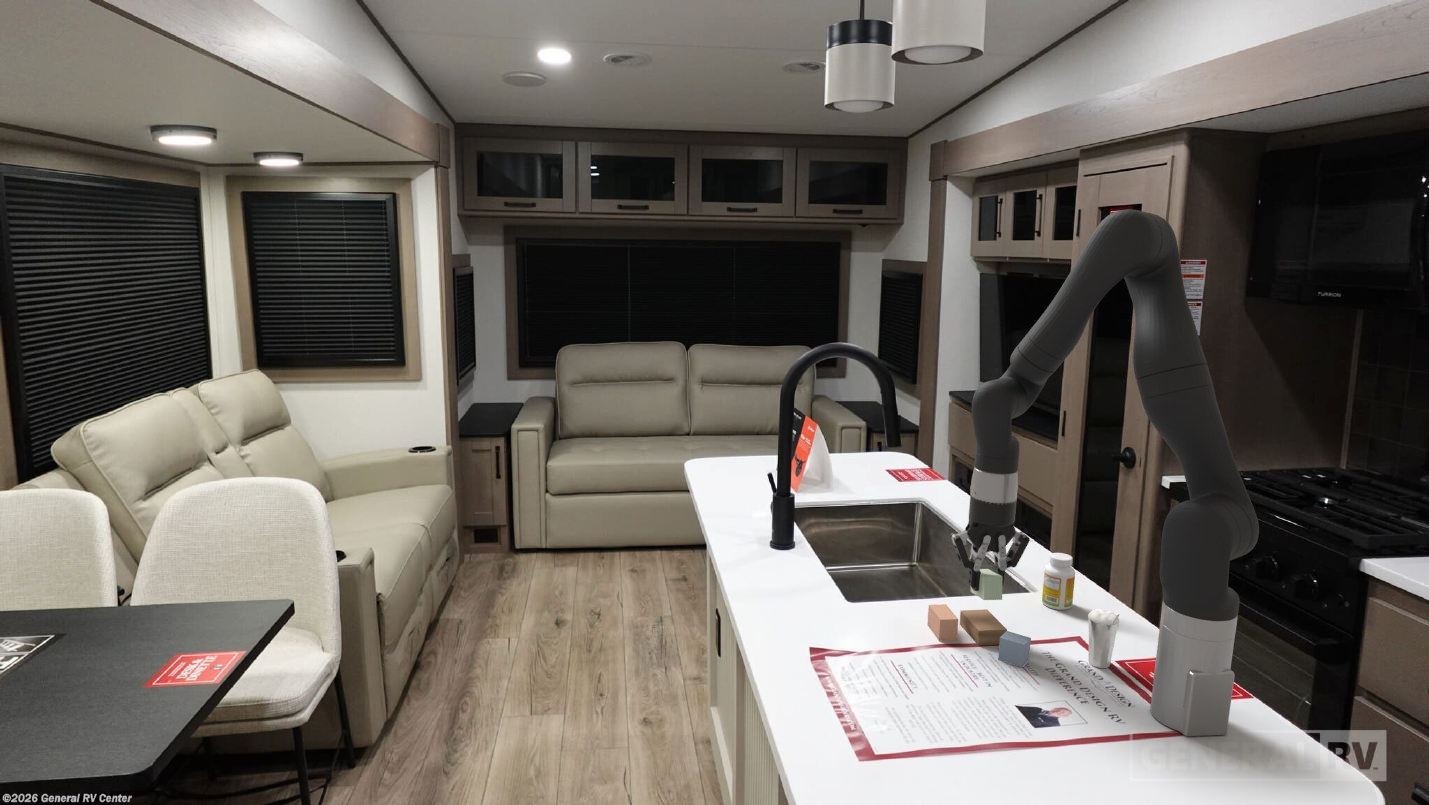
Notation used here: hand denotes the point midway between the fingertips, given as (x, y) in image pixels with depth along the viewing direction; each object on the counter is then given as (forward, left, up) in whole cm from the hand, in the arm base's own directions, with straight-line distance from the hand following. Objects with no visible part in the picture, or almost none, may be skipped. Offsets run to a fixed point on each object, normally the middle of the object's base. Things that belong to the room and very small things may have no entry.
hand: (985, 588), depth 147 cm
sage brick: (-1, 0, -1) cm, 1 cm away
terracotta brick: (+1, +7, -9) cm, 11 cm away
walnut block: (0, 0, -9) cm, 9 cm away
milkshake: (-12, -15, -9) cm, 21 cm away
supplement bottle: (+11, -19, -9) cm, 23 cm away
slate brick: (-10, -1, -8) cm, 13 cm away
